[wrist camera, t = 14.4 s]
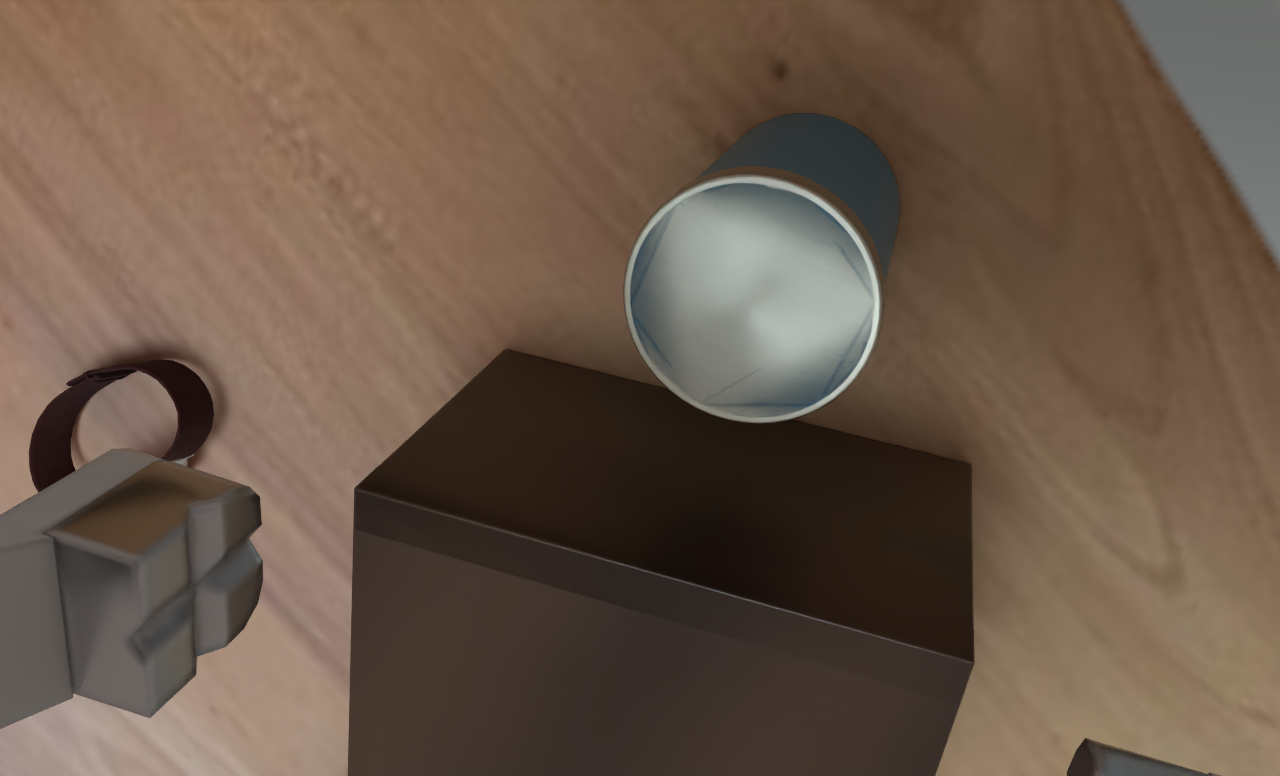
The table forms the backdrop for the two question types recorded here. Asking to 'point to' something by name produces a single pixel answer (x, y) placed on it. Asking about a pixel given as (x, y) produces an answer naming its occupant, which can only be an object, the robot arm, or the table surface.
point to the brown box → (652, 591)
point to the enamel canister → (767, 272)
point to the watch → (59, 416)
